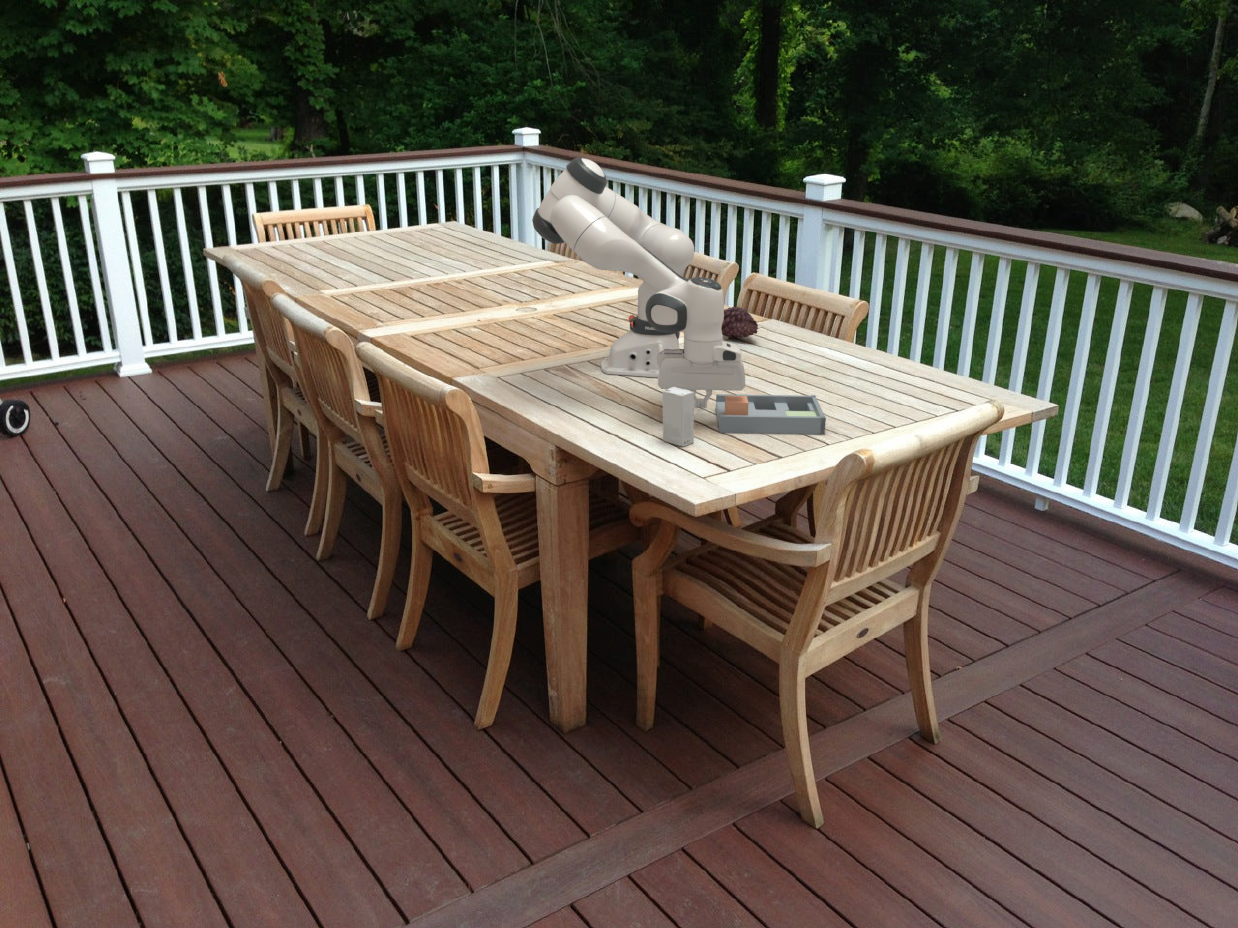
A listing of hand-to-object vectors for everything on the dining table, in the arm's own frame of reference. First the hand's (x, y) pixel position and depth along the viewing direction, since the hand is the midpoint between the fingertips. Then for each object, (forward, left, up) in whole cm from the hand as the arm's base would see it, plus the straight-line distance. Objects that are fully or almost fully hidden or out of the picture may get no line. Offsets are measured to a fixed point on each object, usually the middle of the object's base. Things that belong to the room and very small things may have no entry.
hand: (700, 407), depth 255 cm
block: (+8, 0, -2) cm, 9 cm away
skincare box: (-6, -12, -5) cm, 14 cm away
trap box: (+16, +3, -4) cm, 17 cm away
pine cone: (+14, +77, -5) cm, 79 cm away
